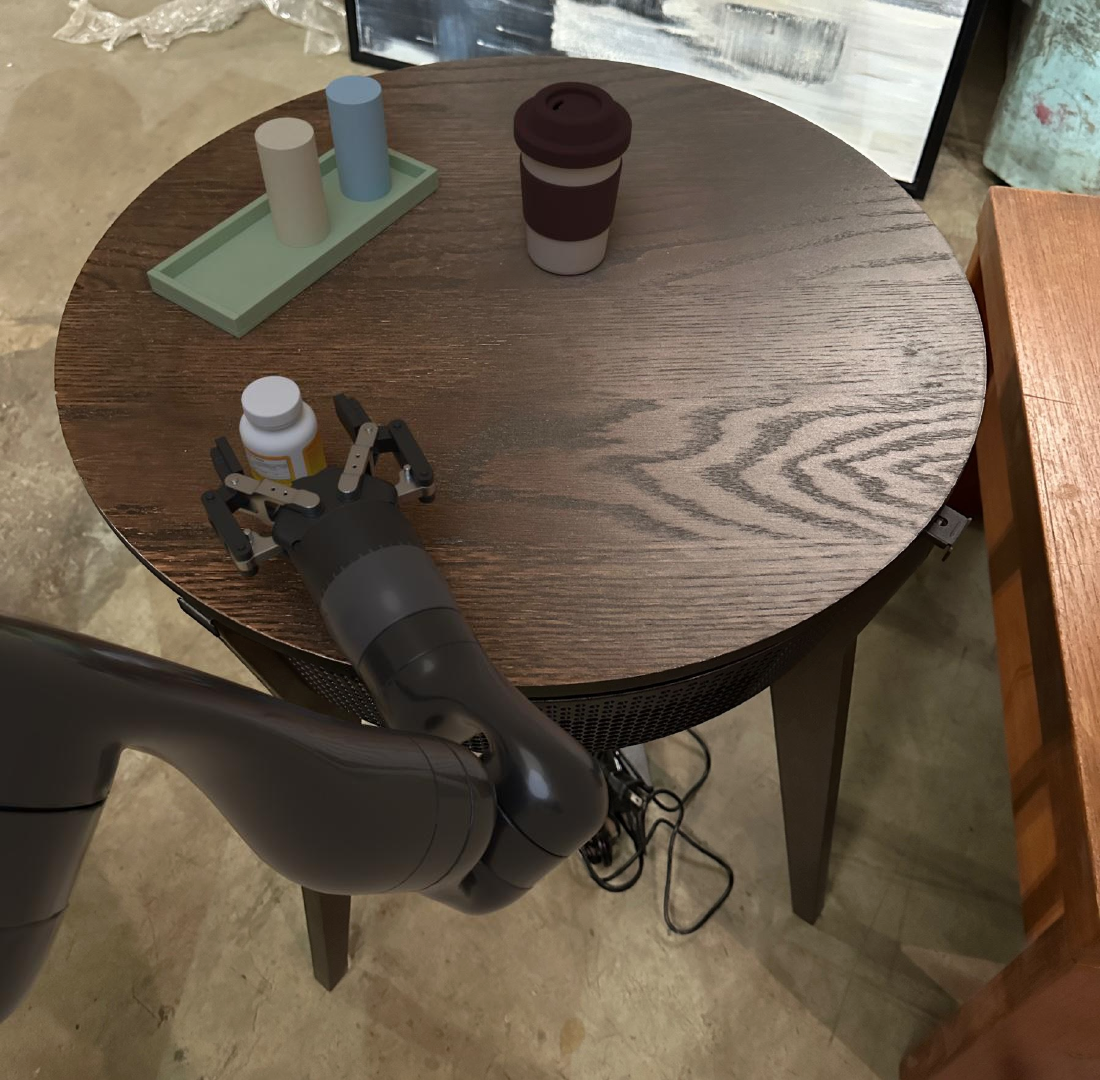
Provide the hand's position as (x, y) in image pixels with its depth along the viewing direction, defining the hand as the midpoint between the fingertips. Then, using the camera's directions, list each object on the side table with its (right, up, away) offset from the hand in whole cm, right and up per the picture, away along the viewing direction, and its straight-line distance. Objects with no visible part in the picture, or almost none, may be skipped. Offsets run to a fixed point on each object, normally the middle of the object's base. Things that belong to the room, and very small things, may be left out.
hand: (281, 424), depth 71 cm
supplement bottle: (-1, -4, +7) cm, 8 cm away
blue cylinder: (+1, +27, +30) cm, 40 cm away
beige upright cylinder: (-5, +21, +25) cm, 33 cm away
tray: (-5, +20, +26) cm, 33 cm away
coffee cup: (+20, +19, +25) cm, 37 cm away
